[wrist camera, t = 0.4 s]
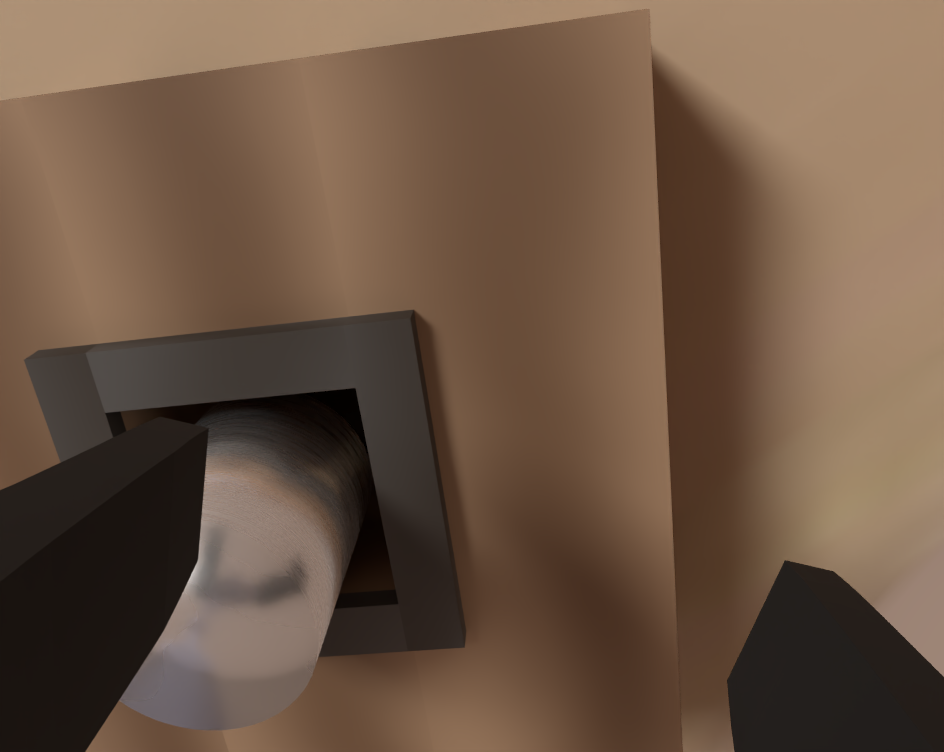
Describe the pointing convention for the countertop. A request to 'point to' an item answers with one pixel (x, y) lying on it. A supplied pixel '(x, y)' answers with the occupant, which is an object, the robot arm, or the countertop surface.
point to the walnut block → (387, 358)
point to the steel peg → (259, 564)
